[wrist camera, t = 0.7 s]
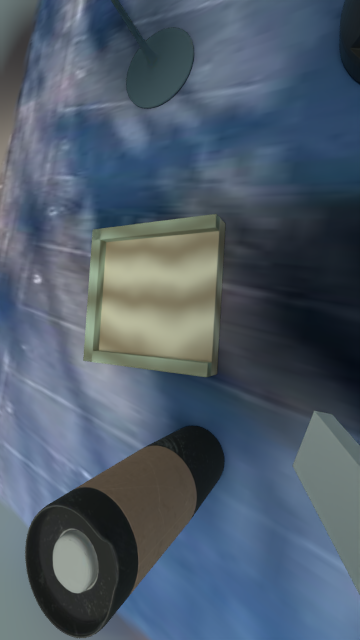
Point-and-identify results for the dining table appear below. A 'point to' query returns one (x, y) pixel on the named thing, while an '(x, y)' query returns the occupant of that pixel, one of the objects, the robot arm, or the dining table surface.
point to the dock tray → (157, 295)
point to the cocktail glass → (157, 64)
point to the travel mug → (117, 529)
